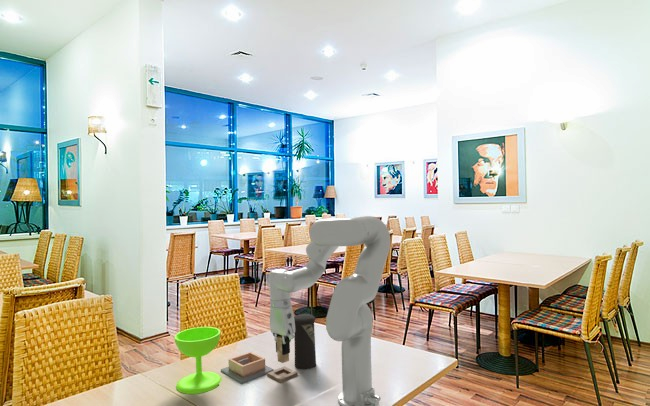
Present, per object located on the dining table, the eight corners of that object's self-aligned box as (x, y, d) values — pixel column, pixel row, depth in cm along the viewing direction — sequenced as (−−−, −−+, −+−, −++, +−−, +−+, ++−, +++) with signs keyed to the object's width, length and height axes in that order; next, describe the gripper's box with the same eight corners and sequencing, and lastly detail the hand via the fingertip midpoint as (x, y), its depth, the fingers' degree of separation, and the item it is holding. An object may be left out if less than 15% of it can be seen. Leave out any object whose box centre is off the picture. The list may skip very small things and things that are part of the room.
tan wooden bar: (289, 360, 149) (287, 336, 149) (282, 363, 147) (281, 338, 147) (284, 358, 151) (282, 334, 151) (277, 361, 149) (276, 336, 149)
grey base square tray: (273, 372, 153) (273, 358, 153) (241, 384, 144) (241, 370, 144) (251, 361, 164) (251, 348, 164) (220, 372, 155) (220, 358, 155)
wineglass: (175, 378, 151) (174, 330, 151) (219, 370, 156) (218, 324, 156) (176, 397, 136) (174, 344, 136) (224, 388, 141) (223, 337, 141)
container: (313, 371, 153) (312, 319, 153) (291, 370, 155) (289, 318, 155) (318, 362, 162) (317, 312, 162) (297, 361, 164) (295, 312, 163)
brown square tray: (297, 376, 149) (297, 372, 149) (280, 383, 144) (280, 379, 144) (284, 370, 155) (284, 366, 155) (267, 377, 150) (267, 373, 150)
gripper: (302, 304, 146) (305, 355, 146) (275, 298, 158) (278, 345, 157) (286, 308, 141) (288, 361, 140) (259, 301, 152) (262, 350, 152)
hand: (283, 352), depth 149 cm, fingers closed on tan wooden bar, 3 cm apart
